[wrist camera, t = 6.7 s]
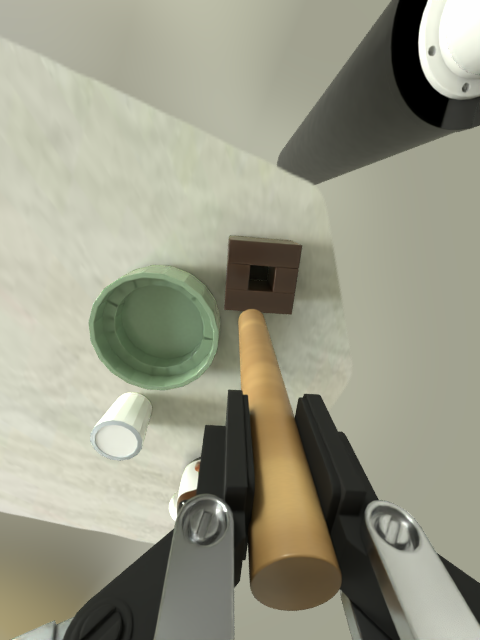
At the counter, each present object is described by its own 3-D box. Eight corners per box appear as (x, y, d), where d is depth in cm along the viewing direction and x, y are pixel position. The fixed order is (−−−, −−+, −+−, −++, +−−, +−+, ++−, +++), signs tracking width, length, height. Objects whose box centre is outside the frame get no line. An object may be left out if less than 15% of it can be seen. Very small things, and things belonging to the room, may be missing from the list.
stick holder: (229, 235, 35) (228, 239, 29) (291, 240, 35) (302, 245, 29) (225, 295, 37) (224, 309, 32) (283, 300, 38) (291, 314, 32)
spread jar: (243, 453, 47) (246, 525, 36) (239, 500, 51) (240, 578, 40) (172, 450, 47) (153, 522, 36) (173, 498, 50) (156, 576, 40)
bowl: (104, 260, 35) (81, 267, 30) (223, 269, 36) (221, 278, 31) (113, 364, 41) (95, 386, 35) (217, 371, 41) (214, 393, 36)
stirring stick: (239, 307, 21) (254, 554, 6) (266, 309, 21) (351, 556, 6) (237, 332, 21) (246, 611, 6) (263, 334, 21) (332, 612, 6)
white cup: (142, 382, 42) (125, 413, 35) (164, 416, 44) (151, 452, 37) (102, 398, 43) (79, 431, 36) (126, 430, 45) (107, 467, 38)
